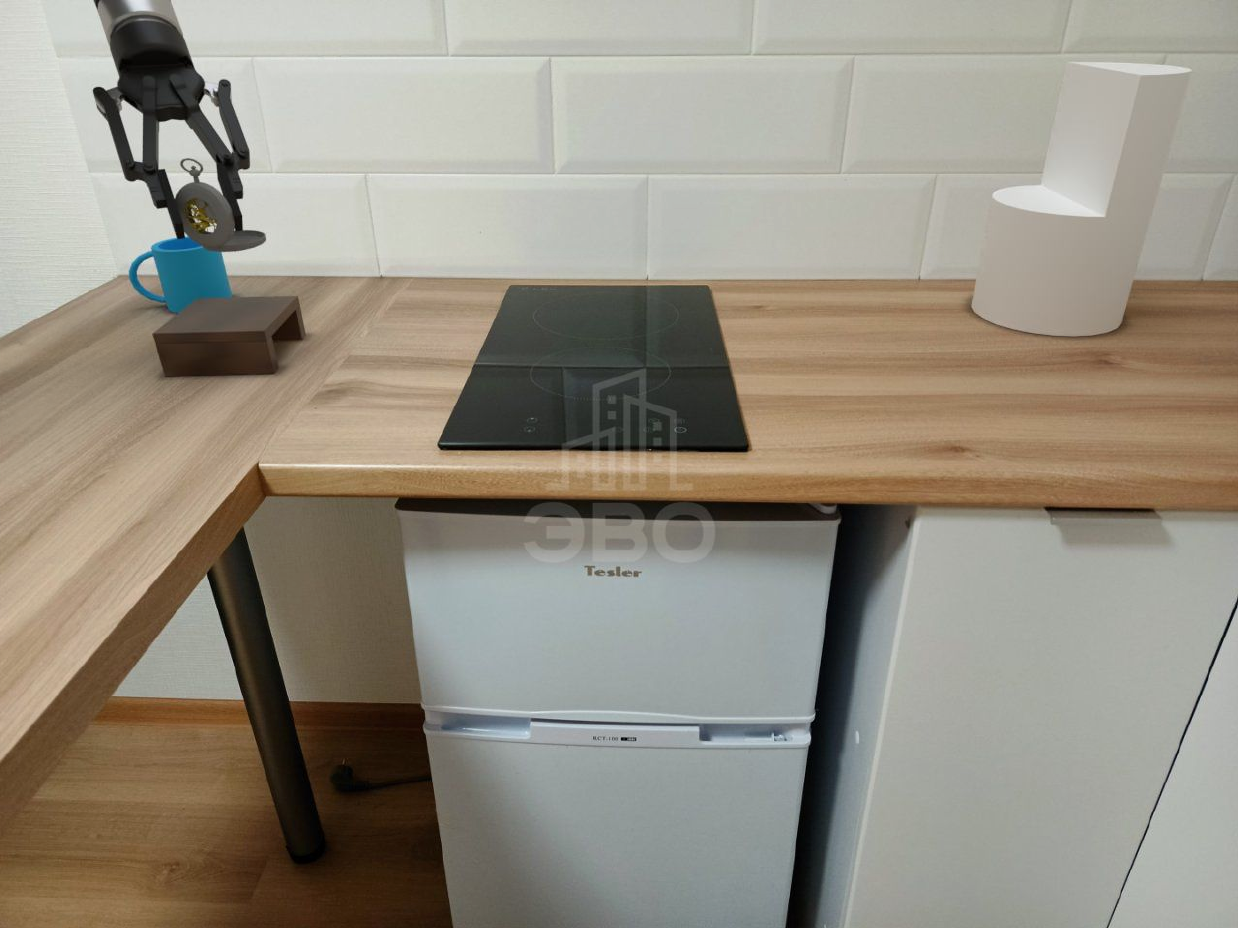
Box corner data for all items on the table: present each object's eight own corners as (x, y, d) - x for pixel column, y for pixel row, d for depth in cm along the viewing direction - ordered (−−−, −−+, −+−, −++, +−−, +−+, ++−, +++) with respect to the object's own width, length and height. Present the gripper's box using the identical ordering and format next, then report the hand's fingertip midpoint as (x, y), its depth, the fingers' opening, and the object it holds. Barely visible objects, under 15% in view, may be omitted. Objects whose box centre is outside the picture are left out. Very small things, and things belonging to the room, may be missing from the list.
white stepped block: (1082, 290, 115) (1140, 61, 102) (1149, 335, 100) (1227, 73, 87) (952, 291, 116) (993, 63, 102) (999, 337, 101) (1054, 76, 87)
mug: (238, 292, 121) (224, 233, 117) (226, 310, 114) (211, 249, 110) (146, 299, 119) (129, 239, 115) (129, 318, 112) (110, 256, 108)
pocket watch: (268, 236, 98) (248, 144, 93) (266, 256, 91) (244, 157, 86) (190, 243, 96) (166, 149, 91) (182, 264, 89) (155, 163, 84)
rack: (164, 376, 94) (151, 333, 92) (207, 337, 105) (197, 298, 102) (274, 373, 95) (264, 330, 92) (306, 335, 105) (298, 295, 103)
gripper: (236, 64, 100) (298, 235, 96) (59, 73, 92) (118, 260, 88) (233, 13, 94) (299, 194, 89) (43, 19, 86) (105, 218, 81)
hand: (209, 227), depth 89 cm, fingers closed on pocket watch, 5 cm apart
